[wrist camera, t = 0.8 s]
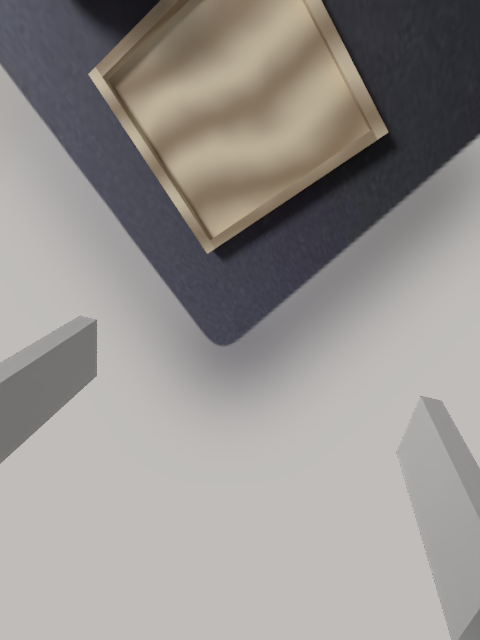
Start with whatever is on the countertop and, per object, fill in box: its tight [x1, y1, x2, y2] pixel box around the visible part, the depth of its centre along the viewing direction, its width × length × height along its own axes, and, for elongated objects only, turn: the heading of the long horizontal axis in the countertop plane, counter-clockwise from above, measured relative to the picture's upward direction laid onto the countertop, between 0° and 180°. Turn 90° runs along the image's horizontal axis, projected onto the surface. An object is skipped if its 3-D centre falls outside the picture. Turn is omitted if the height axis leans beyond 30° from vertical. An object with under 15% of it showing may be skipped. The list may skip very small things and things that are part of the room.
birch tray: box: [88, 0, 388, 254], centre depth 34 cm, size 20×20×2 cm
